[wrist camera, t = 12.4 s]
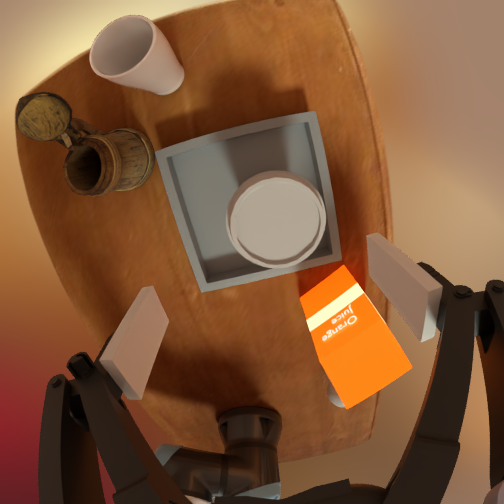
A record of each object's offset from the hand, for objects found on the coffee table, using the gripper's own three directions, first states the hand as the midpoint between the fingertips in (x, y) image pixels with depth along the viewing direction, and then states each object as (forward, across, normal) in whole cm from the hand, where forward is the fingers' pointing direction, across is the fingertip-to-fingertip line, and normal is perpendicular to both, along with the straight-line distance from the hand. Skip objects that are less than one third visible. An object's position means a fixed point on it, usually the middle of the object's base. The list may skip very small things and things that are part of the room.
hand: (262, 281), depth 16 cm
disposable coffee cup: (+22, -2, 0) cm, 22 cm away
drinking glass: (+23, +7, -20) cm, 31 cm away
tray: (+22, 0, 0) cm, 23 cm away
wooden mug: (+23, +16, -13) cm, 31 cm away
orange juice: (+23, -9, +18) cm, 30 cm away
